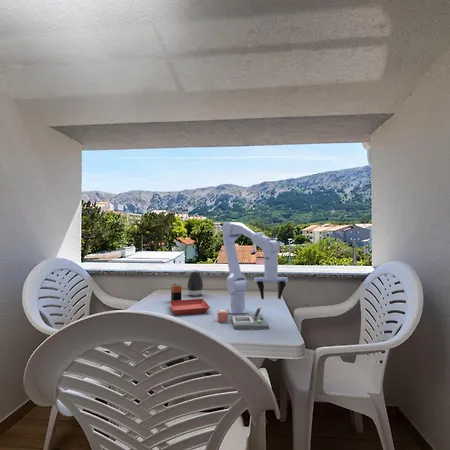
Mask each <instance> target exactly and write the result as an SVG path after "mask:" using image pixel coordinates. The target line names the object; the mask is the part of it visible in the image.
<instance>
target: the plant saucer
mask: <svg viewBox="0 0 450 450" xmlns="http://www.w3.org/2000/svg"><path fill="white" fill-rule="evenodd" d="M169 304H170V307H171V311H172V312H173V314H174V315H175V316H177V315H188V314H189V315H191V314H192V315H193V314H203V313H207V312H208V310H209V309H210V308H211V306H210V305H209V304H208V302H207V301H205V299H204V298H191V299H181V300H177V301H172V300H170V301H169Z"/></svg>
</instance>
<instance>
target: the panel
mask: <svg viewBox="0 0 450 450" xmlns="http://www.w3.org/2000/svg"><path fill="white" fill-rule="evenodd" d="M254 315H255V313H253V314H252V313H237V314H230V320H231V322H232V325H233V329H234V330H250V329H249V328H267V329H270V327H269V324H268V322H267V321H266V319H265V318H264V316H263V315H262V313H259V314H258V316H257V319H256V320H255V319H254ZM247 328H248V329H247Z"/></svg>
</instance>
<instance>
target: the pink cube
mask: <svg viewBox="0 0 450 450" xmlns="http://www.w3.org/2000/svg"><path fill="white" fill-rule="evenodd" d="M216 319H217V323H222V322H223V323H225V322H226V323H227V322H229V309H217V318H216Z"/></svg>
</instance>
